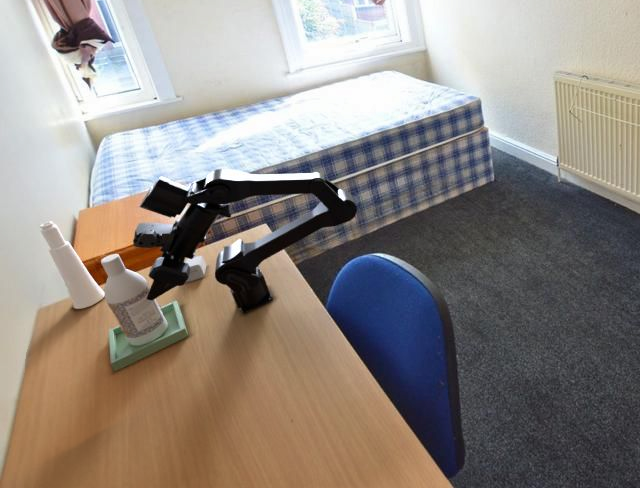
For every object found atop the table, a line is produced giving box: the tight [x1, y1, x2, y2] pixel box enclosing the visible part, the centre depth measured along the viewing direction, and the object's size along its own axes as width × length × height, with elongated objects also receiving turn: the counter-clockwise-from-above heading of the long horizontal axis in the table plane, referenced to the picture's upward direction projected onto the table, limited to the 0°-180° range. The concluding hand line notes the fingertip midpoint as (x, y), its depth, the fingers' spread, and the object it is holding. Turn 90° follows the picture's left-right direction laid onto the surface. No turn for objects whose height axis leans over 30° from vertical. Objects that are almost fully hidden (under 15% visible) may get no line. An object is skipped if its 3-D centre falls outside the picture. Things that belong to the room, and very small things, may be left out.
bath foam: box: [100, 253, 168, 346], centre depth 96 cm, size 7×7×20 cm
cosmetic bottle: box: [39, 221, 105, 310], centre depth 110 cm, size 6×6×22 cm
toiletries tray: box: [108, 300, 189, 372], centre depth 100 cm, size 13×13×2 cm
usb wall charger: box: [184, 255, 207, 282], centre depth 120 cm, size 4×7×4 cm, turn 25°
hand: (153, 286), depth 98 cm, fingers open, 9 cm apart
